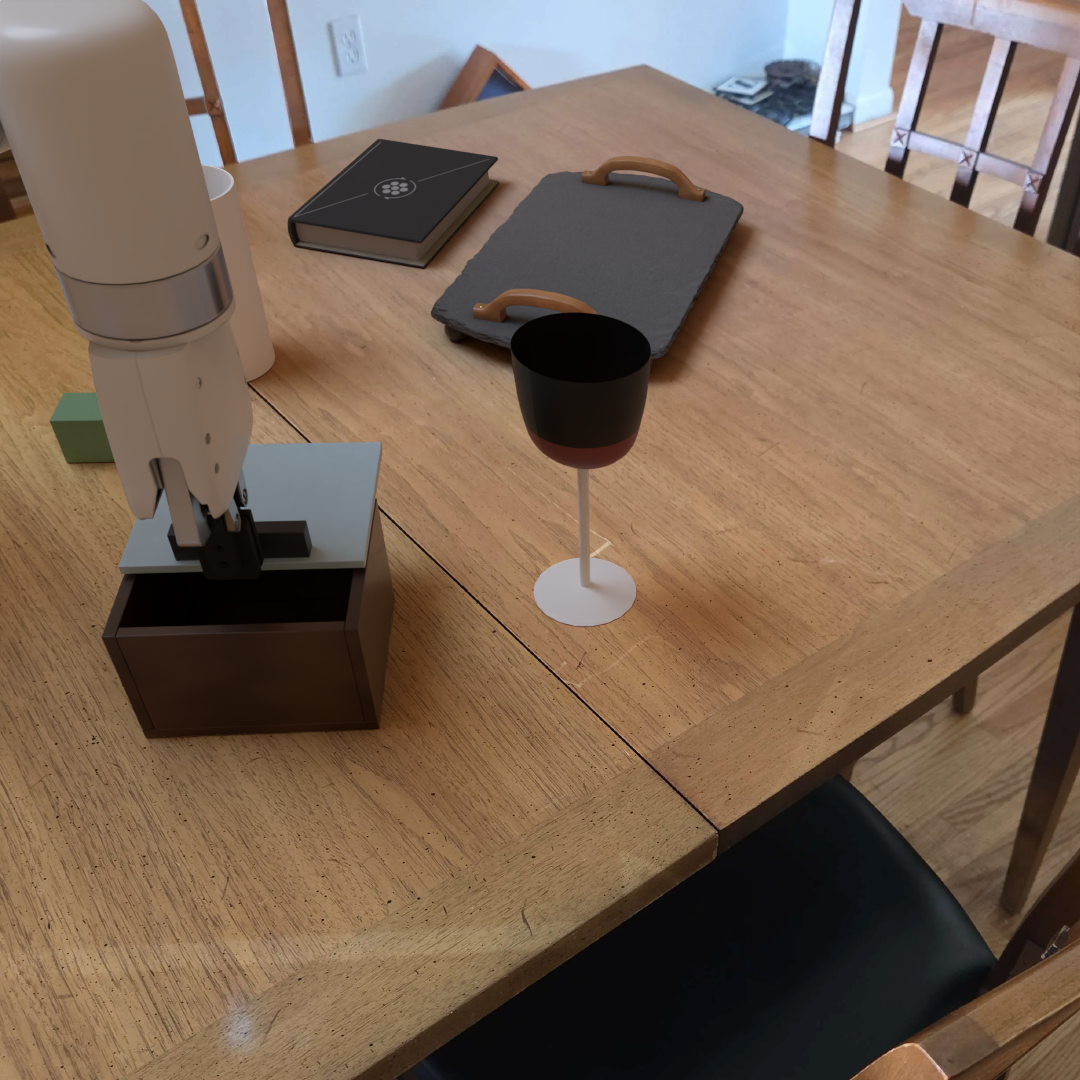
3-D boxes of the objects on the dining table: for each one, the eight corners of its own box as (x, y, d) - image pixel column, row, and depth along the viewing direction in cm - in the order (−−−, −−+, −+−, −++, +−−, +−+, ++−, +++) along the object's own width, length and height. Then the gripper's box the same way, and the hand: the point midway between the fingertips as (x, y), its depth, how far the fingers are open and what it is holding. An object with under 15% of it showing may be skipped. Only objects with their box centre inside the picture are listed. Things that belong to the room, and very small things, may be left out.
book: (379, 164, 134) (376, 137, 132) (500, 183, 132) (498, 156, 130) (290, 246, 120) (284, 218, 117) (424, 269, 117) (420, 240, 115)
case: (145, 738, 73) (100, 637, 67) (185, 603, 82) (149, 502, 76) (379, 729, 75) (357, 629, 68) (394, 598, 83) (377, 498, 77)
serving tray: (655, 400, 102) (657, 337, 98) (413, 354, 106) (404, 291, 102) (751, 217, 129) (756, 160, 124) (554, 185, 132) (553, 129, 128)
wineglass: (560, 541, 88) (551, 299, 74) (662, 578, 86) (673, 335, 72) (505, 603, 83) (484, 357, 69) (611, 644, 81) (613, 397, 67)
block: (66, 463, 93) (48, 420, 90) (79, 434, 96) (63, 392, 93) (117, 462, 93) (102, 420, 90) (129, 433, 96) (114, 391, 93)
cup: (160, 365, 103) (103, 187, 92) (233, 328, 108) (188, 154, 96) (222, 397, 100) (172, 217, 89) (294, 358, 105) (256, 182, 93)
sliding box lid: (120, 574, 70) (107, 541, 68) (165, 452, 79) (154, 419, 77) (365, 568, 72) (358, 535, 70) (383, 448, 80) (377, 416, 78)
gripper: (107, 214, 61) (196, 495, 74) (19, 367, 51) (141, 661, 64) (254, 215, 61) (316, 493, 75) (196, 366, 51) (281, 657, 64)
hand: (235, 570), depth 69 cm, fingers closed
